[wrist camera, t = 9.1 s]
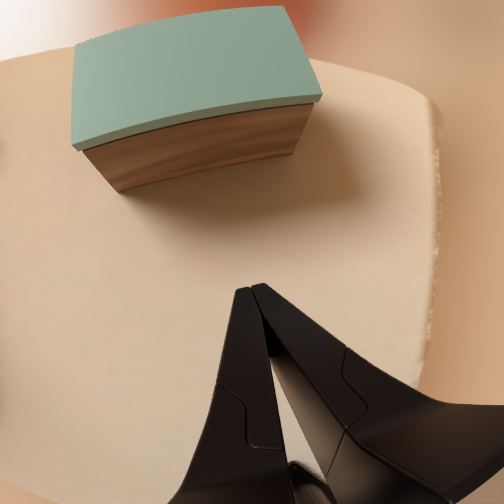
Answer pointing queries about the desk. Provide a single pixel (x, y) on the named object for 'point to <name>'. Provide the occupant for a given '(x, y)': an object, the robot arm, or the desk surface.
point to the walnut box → (199, 145)
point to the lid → (187, 72)
